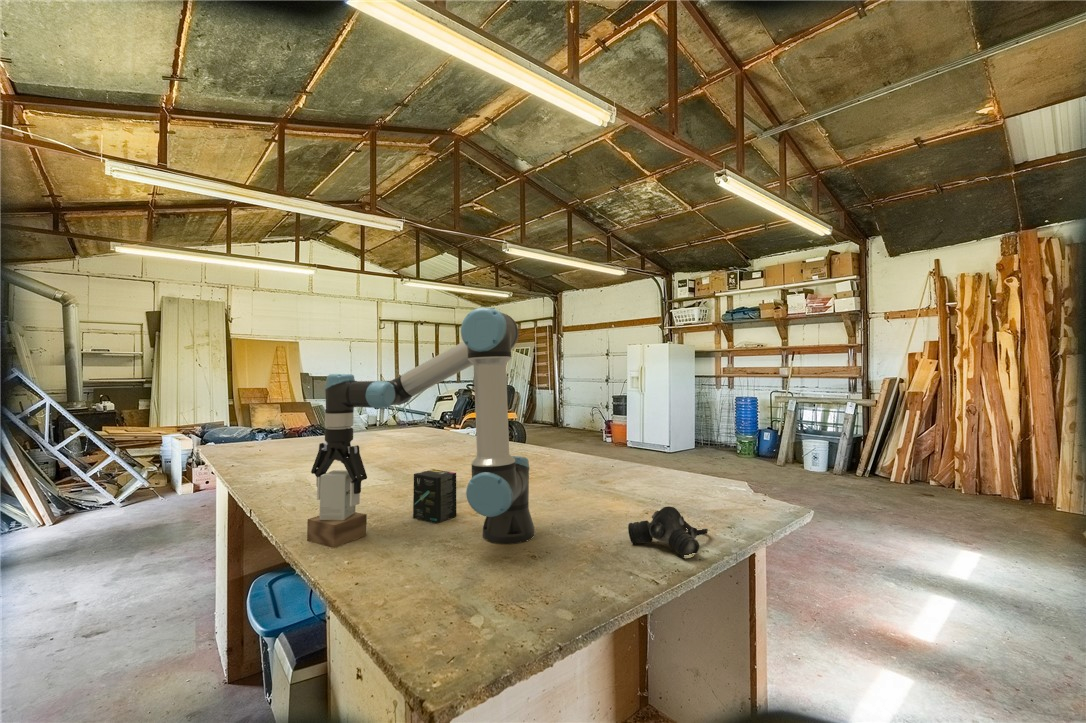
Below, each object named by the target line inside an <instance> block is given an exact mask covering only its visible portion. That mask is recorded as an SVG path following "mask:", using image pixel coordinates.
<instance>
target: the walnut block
mask: <svg viewBox="0 0 1086 723" xmlns="http://www.w3.org/2000/svg"><path fill="white" fill-rule="evenodd" d="M319 518H320V515H317V516H314V517H310V518H307V528H306V531H307V533H306V541H307V542H310V543H315V544H318V545H322V546H326V547H330V548H336V547H339V546H342V545H344V544H347V543H350V542H353V541H355V540H358V539H360V538H362V537H365V536H367V525H368V524H367V519H368V518H367V514H366V513H361V512H356V511H355V513H354V514H353V515H351V516H349V517H348V518H347V519H345V520H344V521H335V520H319Z"/></svg>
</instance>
